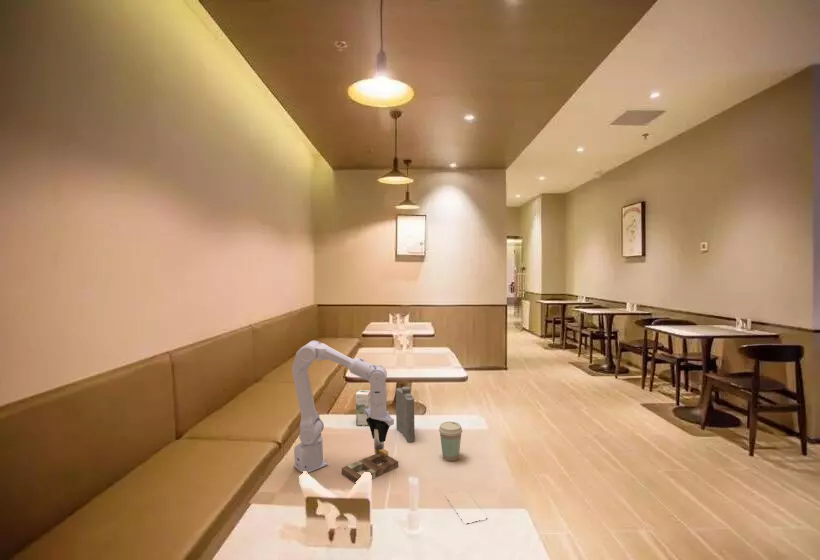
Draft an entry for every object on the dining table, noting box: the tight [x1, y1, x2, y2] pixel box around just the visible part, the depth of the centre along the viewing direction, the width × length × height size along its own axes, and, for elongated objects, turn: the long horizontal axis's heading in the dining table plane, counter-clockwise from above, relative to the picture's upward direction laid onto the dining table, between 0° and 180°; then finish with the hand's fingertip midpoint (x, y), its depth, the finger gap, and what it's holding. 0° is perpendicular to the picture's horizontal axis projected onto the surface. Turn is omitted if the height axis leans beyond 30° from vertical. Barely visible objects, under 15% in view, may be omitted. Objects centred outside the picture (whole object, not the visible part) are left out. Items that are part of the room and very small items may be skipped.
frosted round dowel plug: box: [373, 427, 385, 450], centre depth 143 cm, size 3×3×7 cm
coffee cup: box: [438, 421, 463, 462], centre depth 149 cm, size 8×8×12 cm
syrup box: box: [355, 389, 370, 427], centre depth 181 cm, size 6×6×14 cm
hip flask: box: [395, 386, 416, 444], centre depth 169 cm, size 16×4×20 cm, turn 21°
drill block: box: [341, 453, 399, 484], centre depth 141 cm, size 17×10×2 cm, turn 132°
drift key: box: [374, 448, 389, 457], centre depth 148 cm, size 3×5×2 cm, turn 42°
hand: (379, 439), depth 143 cm, fingers closed on frosted round dowel plug, 3 cm apart
